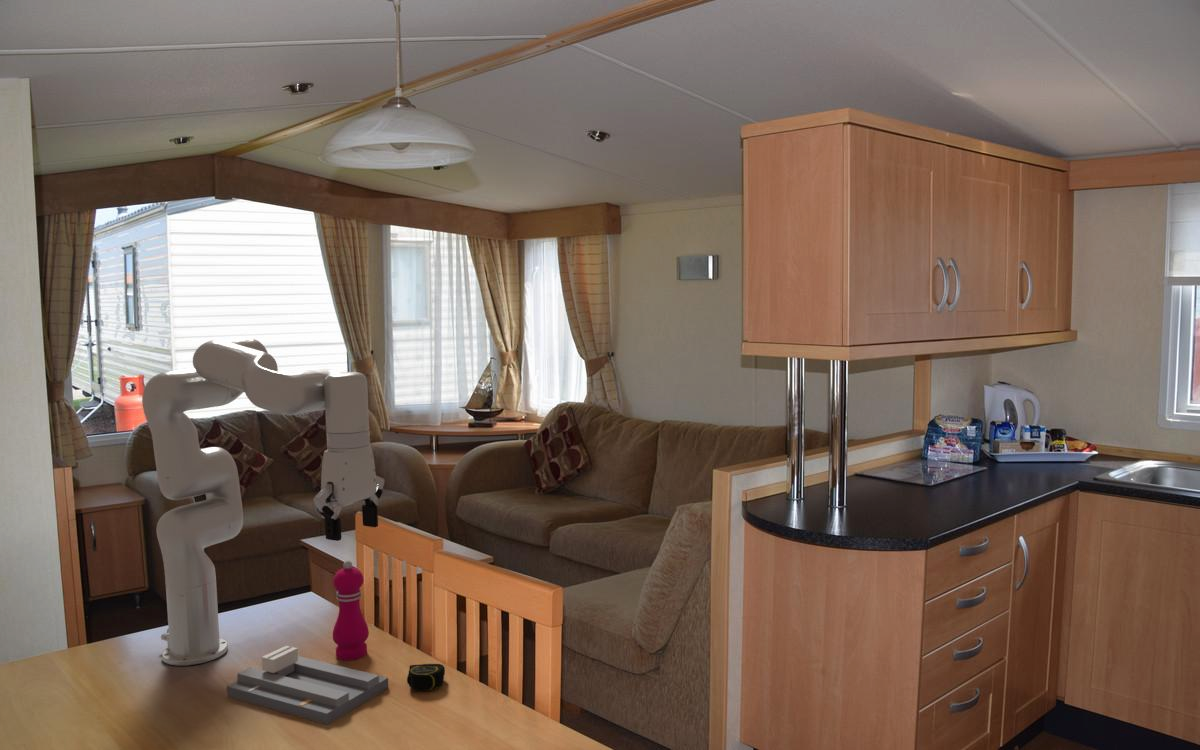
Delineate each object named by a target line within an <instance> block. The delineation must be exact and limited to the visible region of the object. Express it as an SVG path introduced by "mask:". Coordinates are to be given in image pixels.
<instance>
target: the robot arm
mask: <svg viewBox="0 0 1200 750" xmlns="http://www.w3.org/2000/svg"><path fill="white" fill-rule="evenodd" d="M192 366H193V367H191V368H190V367H189V368H181V369H180V368H179V369H174V370H173V369H172V370H168V371H167V370H166V371H164V372H160V373H158V374H156V375H153V377H151V378H150V379H149V380H148V381H147V382H146V384H145V386H144V388H143V392H142V397H141V398H142V399H141V401H142V402H141V403H142V409H143V413H144V417H145V419H146V422H147V425H148V428H149V430H150V431H149V432H150V433H151V438H152V446H153V447H152V448H153V452H154V462H155V467H156V468H155V469H156V475H157V476H156V477H157V482H158V487H159V490H160V492H161V494H162V495H163V497H165V498H166V499H168V500H171V501H180V500H185V499H190V498H194V497H198V496H202V495H205V498H206V499H204V500H201V501H196V502H192V503H187V504H185V505H180V506H177V507H174V508H172V509H170V510H168V511H167V512H165V513H163V515H162V516H161V517H160V518H159V520H158V522H157V524H156V538H157V541H158V544H159V548H160V550H161V551H160V553H161V556H162V562H163V569H164V580H165V592H166V609H167V611H166V612H167V623H168V624H167V625H168V628H167V630H166V633H165V632H163V633H162V634H161V635H160V636H161V637H160V638H161V640H162V641H166V642H167V643H166V644H167V647H166V648H165V649H164V650H163V651H162V653H161V659H162V662H164V663H165V664H167V665H171V666H176V667H178V666H180V667H182V666H193V665H198V664H205V663H207V662H211V661H213V660H216V659H218V658H220V657H221V656H223V655H224V654H225V653H226V652H228V649H229V645H228V644H229V643H228V642H227V640H226V639H224V638H220V626H219V623H220V622H219V612H218V611H219V610H218V609H219V608H218V592H217V591H218V590H217V578H216V568H215V565H214V563H213V561H212V560H211V558H210V557H209V556H208V554H207V553H206V552H205V548H208V547H211V546H213V545H217V544H220V543H223V542H226V541H229V540H231V539H234V538H235V537H236V536H238V535H239V533H241V531H242V528H243V527H244V526H243V525H244V509H243V508H244V507H243V501H242V494H241V487H240V486H241V485H240V479H239V473H238V467H237V464H236V462H235V459H234V458H233V456H232V454H231V453H230V452H229V451H227V450H226V449H224V448H222V447H221V446H219V447H218V446H208V447H204V448H201V447H200V441H199V434H198V430H197V427H196V425H195V424H194V422H193V421H192V420H191V419H190V417H189V416H188V415H187V414H186V413H184V412H187V411H195V410H202V409H209V408H215V407H216V408H217V407H222V406H225V405H228V404H230V403H232V402H233V401H235V400H236V399H238V398H239V397H240V396H241V395H242V394H243V393H244V394H245V396H246V397H247V399H248V400H249V401H250V403H251V404H252V405H254V406H255V407H258V408H260V409H261V410H265V411H269V412H272V413H275V414H279V415H283V416H284V415H285V416H296V415H297V416H298V415H301V414H306V413H310V412H311V413H313V412H318V411H319V412H320V411H324V410H325V428H326V429H325V430H326V431H325V433H326V434H325V435H326V448H327V449H326V450H324V451H323V456H322V461H321V472H320V473H321V474H320V475H321V476H320V478H321V479H320V484H321V485H320V491H318V493H317V494H316V495H315V496H314V497H313V503H314V505H315V507H316V509H317V512H318V513H319V514H320V515H321V518H323V519H324V531H325V533H324V534H325V539H326V540H329V541H337V542H339V541H341V540H342V521H341V518H339V515H340V513H341V511H342V508H343V507H345V506H349V505H352V504H356V503H360V502H361V501H362V502H363V504H362V505H361V511H362V513H361V514H362V525H363V526H364V527H368V528H369V527H370V528H377V527H378V526H379V518H378V517H379V516H378V506H379V505H380V503H381V502H380V498H381V496H382V494H383V488H384V485H385V478H383V477H381V476H379V475H377V474H376V473H377V472H376V465H375V459H374V453H373V449H372V445H371V439H370V437H371V431H370V418H369V417H370V416H369V415H370V414H369V396H368V395H369V392H368V391H369V390H368V379H367V377H366V375H365V374H363V373H362V372H357V371H338V370H333V369H330V368H329V369H327V368H323V369H315V370H305V371H296V372H289V373H284V372H280V371H278V370H279V368H278V363H277V360H276V359H275V358H274V356H272V355H271V354H270V353H269V352H268V350H267V348H266V347H265V345H264V344H263V343H262V342H260V341H259V340H257V339H255V338H251V337H235V338H234V337H233V338H221V339H213V340H208V341H206V342H204V343H203V344H201V345H199V346H198V348H197V349H196V350H195V351H194V353H193V357H192ZM333 507H334V508H333Z"/></svg>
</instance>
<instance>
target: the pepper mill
mask: <svg viewBox="0 0 1200 750" xmlns="http://www.w3.org/2000/svg"><path fill="white" fill-rule="evenodd" d="M342 567H343V568H340V569H338V570H337V571H336V572H335V574H334V575H333V579H332V580H333V581H332V584H333V587H334V589H336V590H337V591H336V594H335V595H336V600H337V601H338V608H339V609H338V610H339V611H338V614H337V615H338V616H337V619H336V621H335V624H334V626H333V630H332V641H333V642H334V643H335V644H336V645H337V646H336V647H335V657H336V659H338V660H341V661H353V660H354V661H355V660H358V659H362V658H363V657H365V656H367V654H368V644H367V643H366V641H367V640H368V638H369V635H370V634H369V633H370V632H369V627H368V622H367V621H366V619H365V617H364V616H363V613H362V610H361V605H360V601H361V598H362V590H361V587H362V586H363V584H364V576H363V573H362V571H361V570H360V569H358V568H357V567H353V562H352V561H350V560H345V561H344V562H343V565H342Z"/></svg>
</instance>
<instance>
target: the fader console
mask: <svg viewBox="0 0 1200 750" xmlns="http://www.w3.org/2000/svg"><path fill="white" fill-rule="evenodd" d="M294 669H295V671H294V672H292V673H290V674H288V675H286V676H282V675H278V674H274V673H270V672H267V671H264V670H263V668H261V669H257V668H254V667H248V668H245V669H243V670H241V671H240V672H237V673H236V677H237V681H235V682H233V683H230V684H229V685H227V686H226V697H228V698H231V699H235V700H238V701H241V702H245V703H249V704H252V705H256V706H259V707H264V708H265V709H266V708H267V709H270V710H274V711H278V712H281V713H284V714H289V715H292V716H295V717H300V718H303V719H306V720H309V721H314V722H318V723H320V724H324V725H329V724H331V723H333V722H334V721H336V720H338V719H339V718H341V717H343V716H344V715H346V714H348V713H350V711H353V710H354V709H356V708H357V707H359V706H360V705H361V706H362V705H363V704H364V703H366V702H367V701H369V700H372V699H373V698H374V697H376V696H378V695H379V694H381V693H382V692H384V691H386V690H387V689H389V677H385V676H382V675H379V674H375V673H371V672H367V671H362V670H357V669H353V668H350V667H346V666H341V665H336V664H332V663H329V662H324V661H320V660H316V659H312V658H307V657H304V656H300V655H298V662H295V663H294Z"/></svg>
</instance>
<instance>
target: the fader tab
mask: <svg viewBox="0 0 1200 750" xmlns="http://www.w3.org/2000/svg"><path fill="white" fill-rule="evenodd" d="M298 650H299V649H298V647H294V646H289V645H285V646H283V647H281V648H278V649H276V650H274V651H272V652H269V653H267V654H265V655H263V656H261V665H262V668H261V669H263V670H264V671H267V672H270V673H274V674H278V675H282V676H286V675H288V674H290V673H292V672H294V671H295V669H294V663H295V662H298V656H299V653H298Z"/></svg>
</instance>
